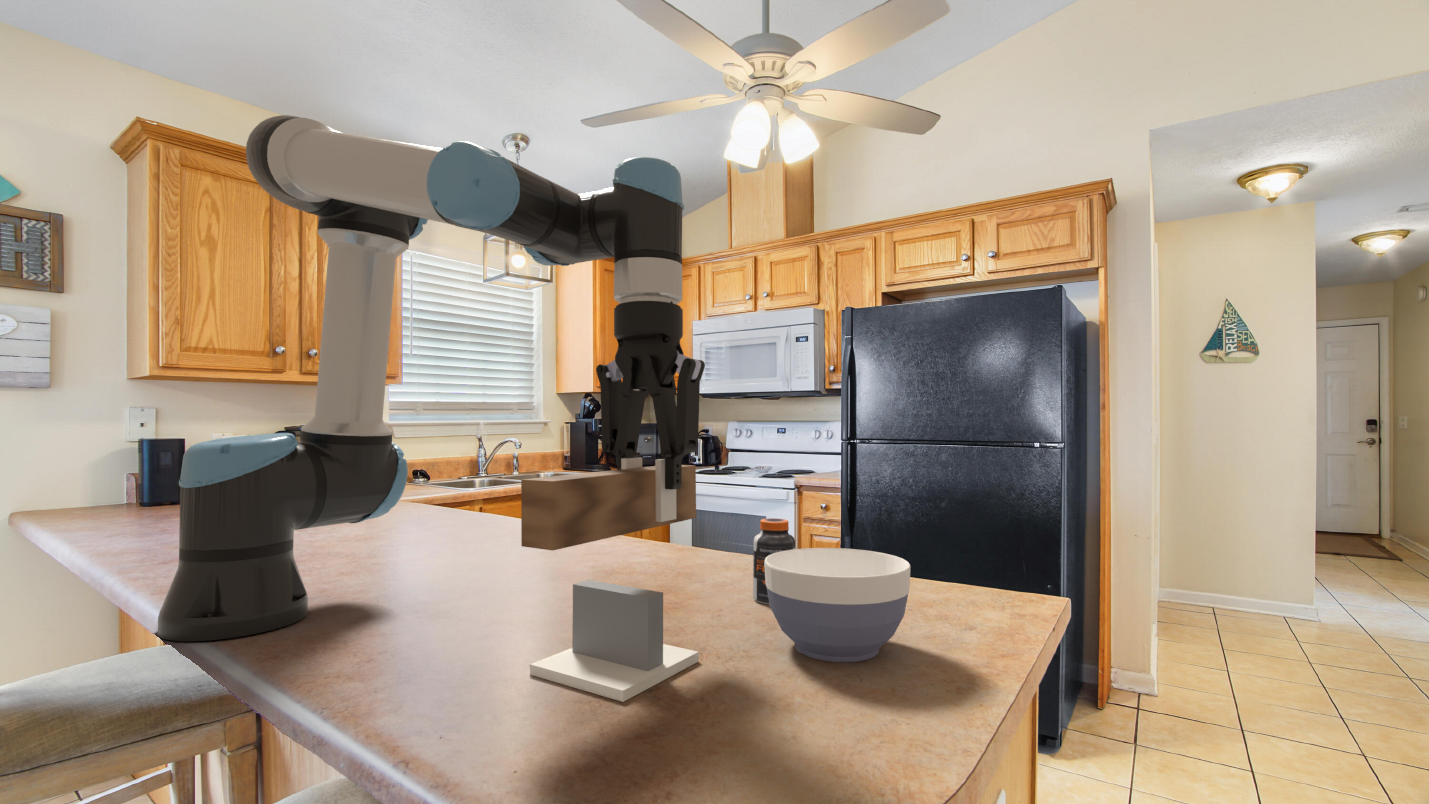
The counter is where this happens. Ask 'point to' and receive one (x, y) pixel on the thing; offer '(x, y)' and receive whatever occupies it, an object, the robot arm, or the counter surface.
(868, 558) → the bowl
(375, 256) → the robot arm
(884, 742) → the counter surface
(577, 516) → the beam
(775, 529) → the pill bottle
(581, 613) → the stand
